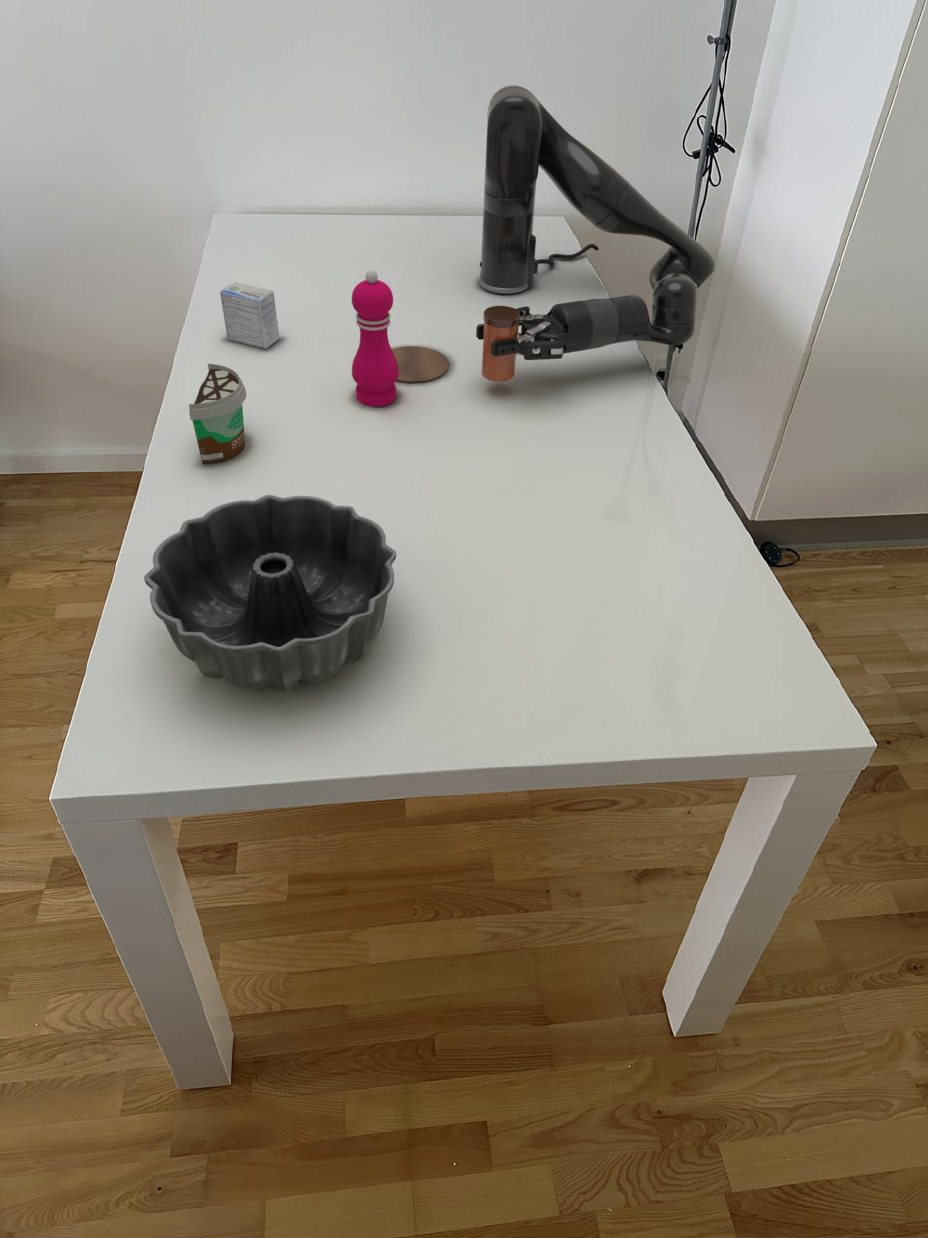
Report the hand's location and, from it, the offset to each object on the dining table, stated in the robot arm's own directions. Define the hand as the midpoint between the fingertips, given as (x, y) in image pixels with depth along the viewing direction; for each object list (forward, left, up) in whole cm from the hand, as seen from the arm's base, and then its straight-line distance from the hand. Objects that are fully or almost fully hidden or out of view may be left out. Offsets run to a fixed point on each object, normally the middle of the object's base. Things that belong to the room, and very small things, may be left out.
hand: (484, 340), depth 140 cm
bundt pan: (+42, +43, -9) cm, 61 cm away
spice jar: (-3, 0, -6) cm, 7 cm away
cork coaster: (+8, -12, -9) cm, 17 cm away
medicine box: (+30, -29, -9) cm, 43 cm away
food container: (+40, +3, -9) cm, 41 cm away
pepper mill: (+16, -4, -9) cm, 19 cm away
